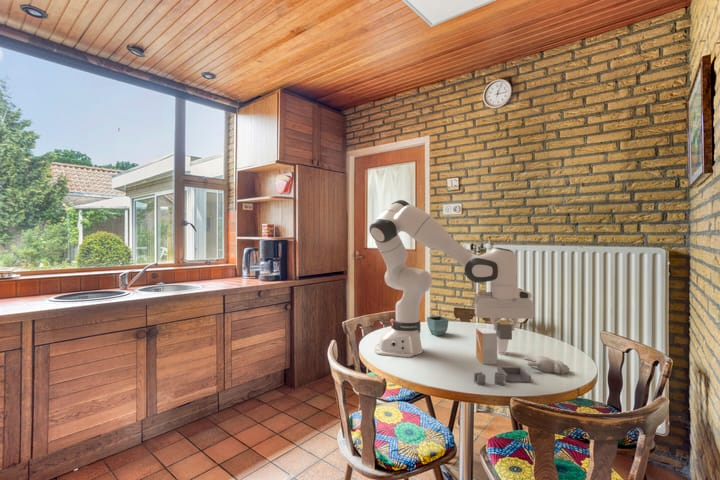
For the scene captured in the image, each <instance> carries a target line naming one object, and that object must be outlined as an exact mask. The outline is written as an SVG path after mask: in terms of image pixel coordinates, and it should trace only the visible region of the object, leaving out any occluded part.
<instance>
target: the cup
mask: <svg viewBox="0 0 720 480" xmlns="http://www.w3.org/2000/svg"><path fill="white" fill-rule="evenodd" d="M508 346H509V340H506V339H499V338H498V337H497V355H500V356H501V355H502V356H503V355H506V354H507V350H508Z"/></svg>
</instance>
